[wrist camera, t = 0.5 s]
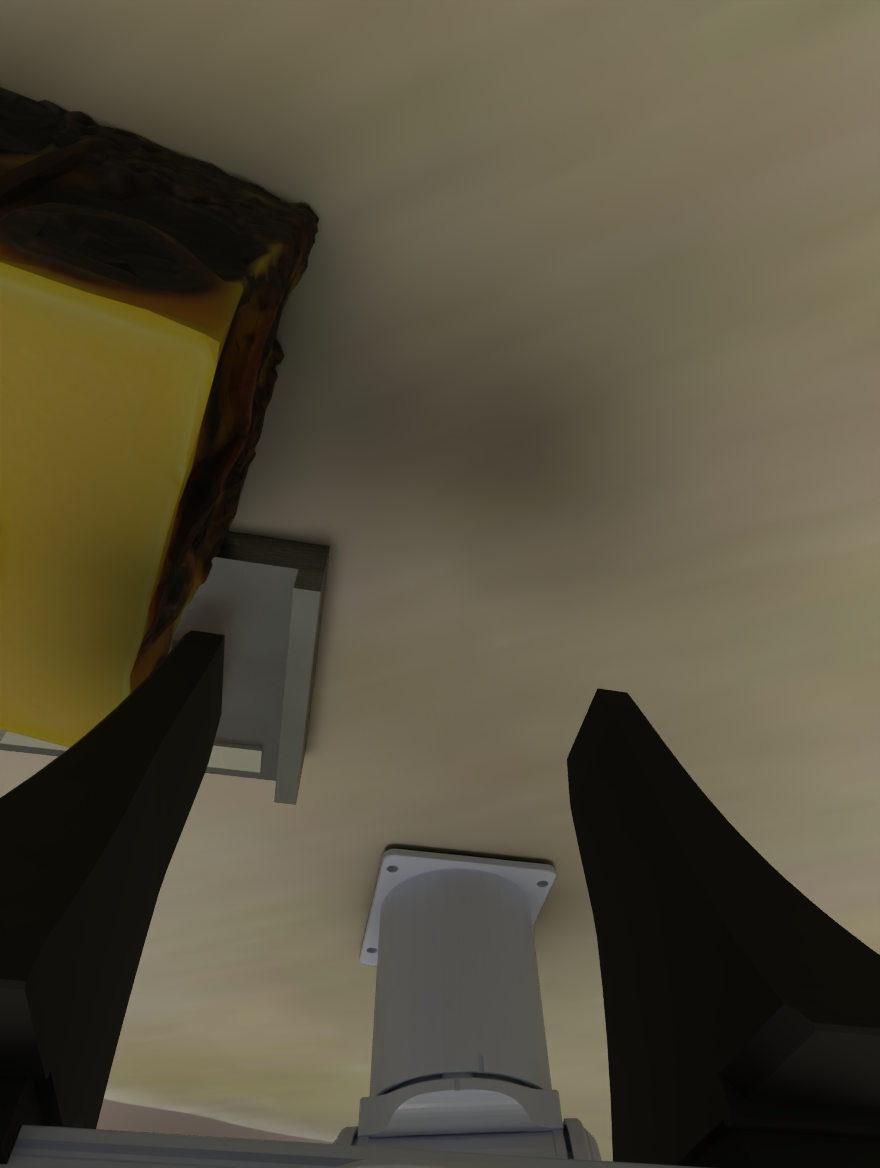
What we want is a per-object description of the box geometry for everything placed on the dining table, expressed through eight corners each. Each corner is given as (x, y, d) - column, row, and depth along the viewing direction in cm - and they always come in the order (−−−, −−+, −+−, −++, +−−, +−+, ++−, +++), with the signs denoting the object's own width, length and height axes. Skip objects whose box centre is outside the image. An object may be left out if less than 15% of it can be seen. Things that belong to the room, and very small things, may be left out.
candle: (326, 208, 19) (245, 325, 10) (237, 531, 24) (138, 774, 16) (-121, 21, 16) (-669, -16, 8) (-108, 424, 22) (-430, 644, 14)
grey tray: (305, 753, 30) (295, 804, 28) (-65, 710, 28) (-103, 761, 26) (329, 546, 24) (320, 591, 22) (-130, 478, 23) (-186, 519, 21)
